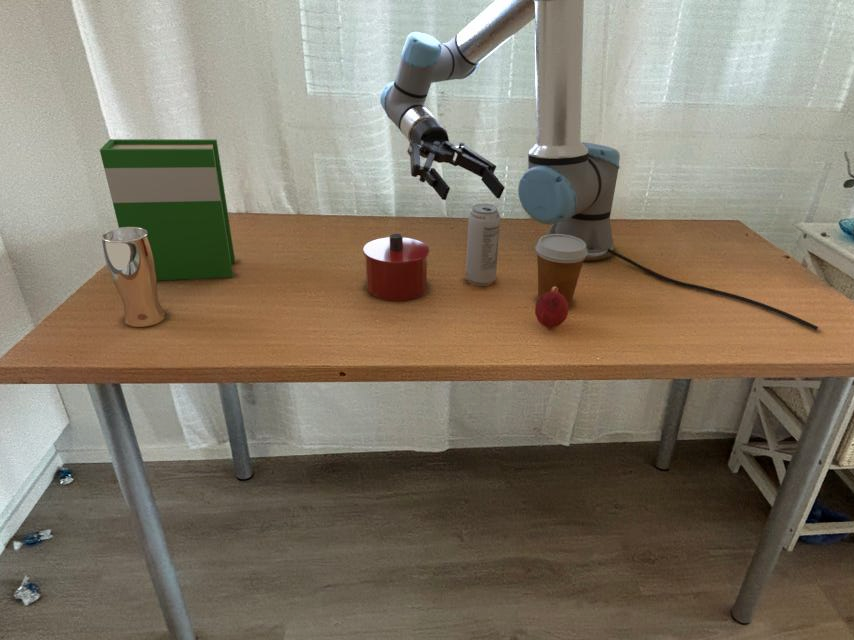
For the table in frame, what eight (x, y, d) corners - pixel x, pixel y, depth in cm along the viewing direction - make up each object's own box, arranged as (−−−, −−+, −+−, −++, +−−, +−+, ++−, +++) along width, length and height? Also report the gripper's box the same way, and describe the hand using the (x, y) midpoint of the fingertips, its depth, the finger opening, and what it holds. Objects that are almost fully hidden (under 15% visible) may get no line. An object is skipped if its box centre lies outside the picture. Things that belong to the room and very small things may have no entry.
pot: (419, 273, 130) (419, 238, 126) (432, 298, 121) (433, 261, 117) (362, 277, 127) (361, 242, 123) (372, 303, 118) (370, 265, 114)
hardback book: (235, 261, 130) (216, 139, 117) (232, 277, 124) (212, 149, 111) (139, 265, 126) (109, 139, 113) (132, 281, 120) (99, 150, 107)
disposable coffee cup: (546, 317, 117) (554, 255, 111) (520, 295, 124) (526, 236, 118) (589, 308, 121) (599, 248, 115) (561, 288, 128) (569, 230, 122)
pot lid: (420, 240, 127) (421, 222, 125) (436, 265, 117) (436, 246, 115) (358, 244, 123) (357, 225, 122) (369, 270, 114) (368, 250, 112)
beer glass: (139, 333, 104) (116, 245, 96) (113, 320, 107) (89, 234, 99) (176, 317, 109) (158, 233, 102) (151, 305, 112) (131, 223, 104)
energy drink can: (480, 272, 132) (485, 200, 124) (501, 282, 129) (507, 209, 121) (459, 279, 129) (462, 206, 121) (480, 290, 125) (485, 215, 117)
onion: (564, 338, 111) (570, 297, 106) (530, 333, 112) (535, 292, 107) (567, 323, 116) (572, 282, 111) (535, 318, 116) (540, 278, 112)
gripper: (465, 150, 148) (514, 207, 138) (368, 147, 133) (415, 210, 123) (477, 120, 143) (528, 177, 133) (377, 114, 128) (427, 177, 118)
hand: (474, 193), depth 128 cm, fingers open, 13 cm apart
